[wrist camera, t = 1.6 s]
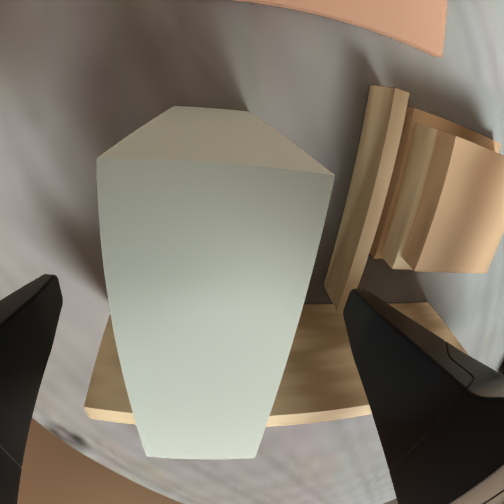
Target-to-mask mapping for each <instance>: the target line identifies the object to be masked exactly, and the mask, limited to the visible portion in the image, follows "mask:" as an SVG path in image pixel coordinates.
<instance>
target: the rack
mask: <svg viewBox="0 0 504 504" xmlns="http://www.w3.org/2000/svg"><path fill="white" fill-rule="evenodd" d="M408 98H409V92H406V91H403V90H400V89H397V88H392V87H383V86H374V85H370V89H369V95H368V100H367V106H366V111H365V117H364V122H363V127H362V132H361V137H360V142H359V147H358V151H357V156H356V161H355V165H354V170H353V174H352V179H351V183H350V187H349V191H348V196H347V200H346V204H345V208H344V212H343V216H342V220H341V224H340V228H339V232H338V235H337V239H336V243H335V247H334V250H333V254H332V257H331V261H330V265H329V268H328V272H327V275H326V279H325V282H324V287H325V289H326V291H327V293H328V295H329V297H330V299H331V301H332V303H333V304H303V308H302V312H301V315H300V319H299V322H298V326H297V329H296V333H295V336H294V339H293V343H292V346H291V350H290V353H289V356H288V359H287V363H286V366H285V369H284V372H283V376H282V379H281V382H280V385H279V388H278V391H277V394H276V397H275V401H274V404H273V407H272V410H271V413H270V416H269V419H268V421H267V424H266V427H270V426H284V425H296V424H306V423H315V422H323V421H331V420H338V419H344V418H351V417H357V416H363V415H368V414H372V412H371V409H370V406H369V403H368V400H367V397H366V394H365V391H364V388H363V385H362V382H361V379H360V376H359V373H358V370H357V367H356V364H355V361H354V358H353V355H352V351H351V347H350V342H349V338H348V334H347V330H346V326H345V321H344V317H343V310H344V307H345V304H346V301H347V298H348V296H349V293H350V291H351V290H352V289H357V288H358V285H359V282H360V279H361V277H362V274H363V271H364V268H365V265H366V262H367V259H368V256H369V253H370V249H371V246H372V243H373V240H374V237H375V233H376V230H377V227H378V224H379V220H380V217H381V213H382V210H383V206H384V203H385V199H386V195H387V192H388V188H389V184H390V180H391V176H392V172H393V168H394V164H395V160H396V156H397V152H398V147H399V143H400V138H401V134H402V129H403V124H404V119H405V114H406V109H407V104H408ZM388 304H389V305H390V306H392V307H393V308H395V309H397V310H398V311H400V312H401V313H403V314H405V315H406V316H408V317H409V318H411V319H412V320H414V321H416V322H417V323H419V324H420V325H422V326H423V327H425V328H426V329H428V330H430V331H431V332H433V333H434V334H436V335H437V336H439V337H440V338H442V339H443V340H445V342H448V343H450V344H451V345H453V346H454V347H456V348H457V349H459V350H461V351H462V352H464V353H465V354H467V352H466V351H465V350H464V348H463V347H462V346H461V344H460V343H459V342H458V340H457V339H456V338H455V336H454V335H453V334H452V332H451V331H450V330H449V328H448V327H447V326H446V324H445V323H444V322H443V321H442V319H441V318H440V317H439V315H438V314H437V313H436V312H435V310H434V309H433V308H432V307H431V305H430V304H429V303H428V302H418V303H388ZM467 355H468V354H467ZM84 408H85V410H86V412H87V414H88V416H89V418H90V419H96V420H103V421H111V422H119V423H127V424H136V422H135V419H134V415H133V412H132V408H131V404H130V401H129V397H128V393H127V389H126V385H125V381H124V377H123V373H122V369H121V364H120V360H119V355H118V351H117V346H116V341H115V336H114V331H113V326H112V320H111V314H110V316H109V319H108V322H107V325H106V328H105V331H104V335H103V338H102V341H101V345H100V348H99V352H98V355H97V359H96V362H95V366H94V369H93V373H92V377H91V381H90V385H89V388H88V392H87V397H86V401H85V405H84Z"/></svg>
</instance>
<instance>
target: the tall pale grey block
mask: <svg viewBox="0 0 504 504" xmlns="http://www.w3.org/2000/svg"><path fill="white" fill-rule="evenodd" d="M96 168H97V197H98V214H99V227H100V239H101V249H102V258H103V267H104V275H105V282H106V289H107V296H108V302H109V308H110V314H111V320H112V326H113V331H114V336H115V341H116V346H117V351H118V355H119V360H120V364H121V369H122V373H123V377H124V381H125V385H126V389H127V393H128V397H129V401H130V404H131V408H132V412H133V415H134V419H135V422H136V425H137V429H138V432H139V435H140V438H141V441H142V444H143V448H144V451H145V454H146V456H147V457H159V458H176V459H243V458H255V456H256V453H257V450H258V447H259V445H260V442H261V439H262V436H263V433H264V430H265V427H266V424H267V421H268V419H269V416H270V413H271V410H272V407H273V404H274V401H275V397H276V394H277V391H278V388H279V385H280V382H281V379H282V376H283V372H284V369H285V366H286V363H287V359H288V356H289V353H290V350H291V346H292V343H293V339H294V336H295V333H296V329H297V326H298V322H299V319H300V315H301V312H302V308H303V304H304V301H305V297H306V294H307V290H308V286H309V282H310V279H311V275H312V271H313V267H314V263H315V259H316V255H317V251H318V247H319V243H320V239H321V235H322V231H323V227H324V223H325V219H326V214H327V210H328V206H329V201H330V197H331V192H332V188H333V183H334V179H335V175H334V174H333V173H331V172H330V171H329V170H328V169H326V168H325V167H324V166H323V165H321V164H320V163H319V162H317V161H316V160H315V159H314V158H312V157H311V156H310V155H308V154H307V153H306V152H304V151H303V150H302V149H301V148H299V147H298V146H297V145H295V144H294V143H292V142H291V141H290V140H288V139H287V138H286V137H284V136H283V135H282V134H280V133H279V132H277V131H276V130H275V129H273V128H272V127H270V126H269V125H268V124H266V123H265V122H263V121H262V120H260V119H259V118H258V117H256V116H255V115H253V114H252V113H250V112H248V111H239V110H228V109H217V108H203V107H187V106H173V107H171V108H170V109H168V110H166V111H165V112H163V113H162V114H160V115H158V116H157V117H155V118H154V119H152V120H151V121H149V122H148V123H146V124H144V125H143V126H141V127H140V128H138V129H137V130H135V131H134V132H132V133H131V134H130V135H128V136H127V137H125V138H124V139H122V140H121V141H120V142H118V143H117V144H115V145H114V146H112V147H111V148H110V149H108V150H107V151H106V152H104V153H103V154H102V155H100V156H99V157H98V158H96Z"/></svg>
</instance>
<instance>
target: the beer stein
mask: <svg viewBox="0 0 504 504" xmlns="http://www.w3.org/2000/svg"><path fill="white" fill-rule="evenodd" d="M498 373H500V374H502V375H503V376H504V362H503V364H502V366H501V367H500V369H499V371H498Z"/></svg>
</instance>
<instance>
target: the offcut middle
mask: <svg viewBox="0 0 504 504" xmlns="http://www.w3.org/2000/svg"><path fill="white" fill-rule="evenodd" d="M437 131H438V130H437V129H434V128H431V127H428V126H425V125H421V124H418V123H416V125H415V129H414V134H413V139H412V144H411V148H410V153H409V157H408V161H407V165H406V169H405V173H404V177H403V181H402V185H401V189H400V193H399V196H398V200H397V204H396V207H395V211H394V214H393V218H392V221H391V224H390V228H389V231H388V234H387V237H386V241H385V244H384V247H383V250H382V253H381V257H382V258H383V259H384V260H385V261H386V262H387V264H388V265H389V266H390V267H391V268H392V269H412V268H411V267H410V266H409V265H408V264H407V263H406V261H405V260H404V259H403V258H402V257H401V256H402V253H403V250H404V247H405V245H406V242H407V239H408V236H409V233H410V230H411V227H412V224H413V221H414V218H415V214H416V211H417V208H418V205H419V201H420V198H421V194H422V191H423V188H424V184H425V180H426V177H427V173H428V169H429V165H430V161H431V157H432V153H433V149H434V145H435V140H436V136H437ZM489 150H490V149H489ZM496 153H497V152H496ZM498 154H499V153H498Z"/></svg>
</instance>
